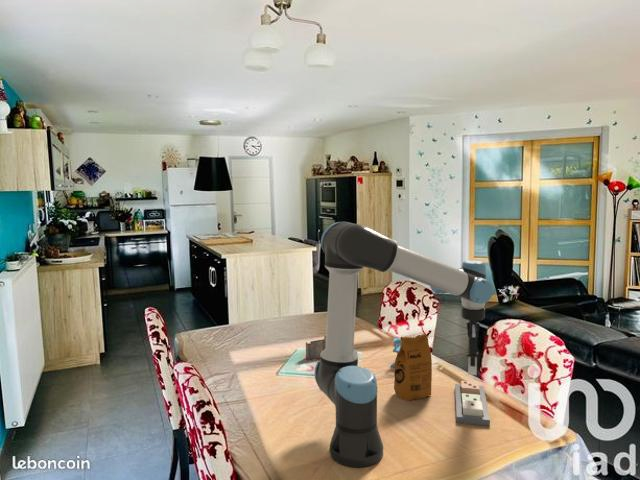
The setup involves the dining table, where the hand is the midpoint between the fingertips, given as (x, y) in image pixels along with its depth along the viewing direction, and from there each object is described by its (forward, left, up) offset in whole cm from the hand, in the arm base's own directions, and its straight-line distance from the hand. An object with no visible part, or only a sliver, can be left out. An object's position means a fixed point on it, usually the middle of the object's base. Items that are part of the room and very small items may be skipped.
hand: (472, 373), depth 165 cm
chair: (+31, +26, -11) cm, 42 cm away
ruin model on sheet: (+33, +63, -11) cm, 72 cm away
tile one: (-10, 0, -9) cm, 13 cm away
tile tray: (-2, 0, -11) cm, 11 cm away
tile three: (+6, 0, -9) cm, 11 cm away
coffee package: (+3, +20, -11) cm, 23 cm away
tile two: (-2, 0, -10) cm, 10 cm away
